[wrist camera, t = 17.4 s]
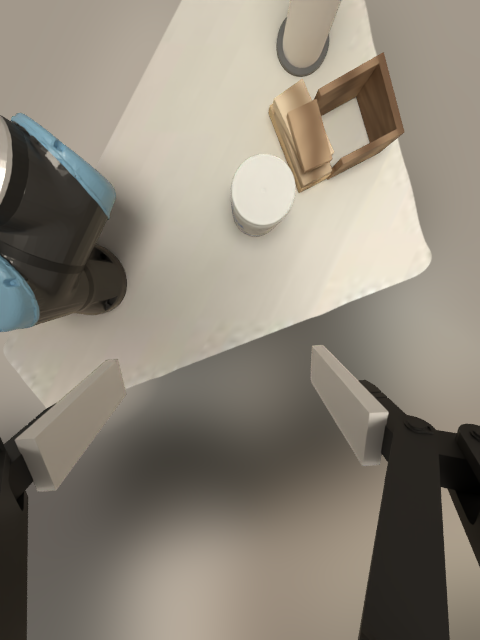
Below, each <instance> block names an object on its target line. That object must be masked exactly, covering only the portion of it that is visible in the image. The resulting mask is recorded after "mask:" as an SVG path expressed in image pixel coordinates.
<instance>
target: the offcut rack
mask: <svg viewBox="0 0 480 640" xmlns="http://www.w3.org/2000/svg"><path fill="white" fill-rule="evenodd" d="M355 97H357V101H358V104H359V107H360V111H361V114H362V118H363V121H364V124H365V128H366V131H367V134H368V138H369V141H370V143H369V144H367V145H365V146H363V147H362V148H360V149H358V150H356V151H354V152H352V153H350V154H348V155H346V156H344V157H343V158H341V159H340V160H339V161H338V162H337V163H336V164H335V165H334V166H333V167H332V168H331V165H330V161H331V160H332V155H333V153H334V151H333V148H332V146H331V144H330V141H329V139H328V137H327V134H326V132H325V129H324V125H323V122H322V118H321V116H322V115H324V114H326V113H328V112H329V111H331V110H333V109H335V108H337V107H338V106H340V105H342V104H344V103H346V102H347V101H349V100H351V99H353V98H355ZM269 115H270V118H271V121H272V123H273V126H274V129H275V131H276V134H277V137H278V139H279V142H280V144H281V147H282V150H283V152H284V155H285V158H286V160H287V163H288V166H289V168H290V169H291V171H292V173H293V176H294V179H295V184H296V187H297V189H298V192H299V193H300V192H302V191H304V190H306V189H308V188H310V187H312V186H313V185H315V184H317V183H319V182H321V181H323V180H325V179H327V180H328V179H330V178H332V177H334V176H336V175H338V174H339V173H341V172H343V171H345V170H347V169H349V168H351V167H353V166H355V165H357V164H359V163H361V162H363V161H364V160H366V159H368V158H370V157H372V156H374V155H376V154H378V153H379V152H381V151H382V150H383V149H384V148H386V147H387V146H388V145H389V144H391V143H392V142H393V141H394V140H396V139H397V138H398V137H399V136H400V135H402V134H403V133H404V129H403V125H402V121H401V118H400V113H399V109H398V106H397V102H396V98H395V94H394V90H393V87H392V83H391V79H390V75H389V71H388V67H387V64H386V60H385V56H384V53H381V54H380V55H378V56H376V57H374V58H373V59H371V60H369V61H367V62H366V63H364V64H362V65H360V66H359V67H357V68H355V69H353V70H351V71H350V72H348V73H346V74H344V75H343V76H341V77H339V78H337V79H336V80H334V81H332V82H330V83H329V84H327V85H325V86H323V87H322V88H320V89H318V92H317V94H316V96H315V98H314V100H313V101H312V100H311V97H310V95H309V93H308V90H307V88H306V86H305V83H304V81H303V79H301V80H300V81H298V82H297V83H296V84H294V85H293V86H291V87H290V88H289V89H287V90H286V91H284V92H283V93H281V94H280V95H279V96H277V97H276V98H274V101H273V104H272V105H270V108H269Z"/></svg>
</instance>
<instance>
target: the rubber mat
mask: <svg viewBox="0 0 480 640" xmlns="http://www.w3.org/2000/svg"><path fill="white" fill-rule="evenodd" d="M286 20H287V17H286V19H285V20H284V21H283V23H282V25H281V27H280V29H279V33H278V38H277V55H278V58H279V61H280V63H281V65H282V66H283V68H284V69H285V70H286V71H287V72H288V73H290V74H292V75H294V76H299V77H302V76H307V75H310V74H311V73H313V72H314V71H316V70H317V69H318V68H319V67H320V65H321V64H322V62H323V61H324V58H325V56H326V53H327V50H328V46H329V34H328V37H327V39H326V42H325V45H324V47H323V50H322V52H321V55H320V56H319V58H318V60H317V61H316V62H315V63H314V64H312V65H311V66H309V67H306V68H298V67H295V66H293V65H292V64H290V63H289V62H288V60H287V59H286V57H285V54H284V51H283V36H284V31H285V25H286Z"/></svg>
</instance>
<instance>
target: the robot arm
mask: <svg viewBox="0 0 480 640" xmlns="http://www.w3.org/2000/svg"><path fill="white" fill-rule="evenodd" d="M11 121H12V122H11ZM11 121H9V120H8V119H6V118H4V117H3V116H1V115H0V332H7V331H12V330H16V329H24V328H30V327H32V326H34V325H37V324H40V323H44V322H47V321H50V320H53V319H56V318H60V317H63V316H66V315H69V314H72V313H77V314H85V315H97V314H102V313H105V312H107V311H110V310H112V309H114V308H115V307H116V306H118V305H119V304H120V302H121V301H122V299H123V298H124V295H125V292H126V287H127V281H126V275H125V272H124V269H123V267H122V265H121V263H120V262H119V260H118V259H117V258H116V257H115V256H114V255H113V254H112V253H111V252H110V251H108V250H107V249H105V248H103V247H101V246H99V245H95V244H96V242H97V240H98V237H99V235H100V233H101V231H102V229H103V227H104V225H105V223H106V220H109V218H110V212H111V209H112V207H113V205H114V202H115V199H116V193H115V189H114V188H113V186H112V184H111V183H110V182H109V181H108V180H107V179H106V178H105V177H104V176H102V175H101V174H100V173H99V172H98V171H97V170H96V169H94V168H93V167H92V166H91V165H90V164H88V163H87V162H86V161H84V160H83V159H82V158H81V157H80V156H78V155H77V154H76V153H75V152H74V151H72V150H71V149H69V148H68V147H67V146H66V145H64V144H63V143H62V142H60V141H59V140H58V139H57V138H55V137H54V136H53V135H52V134H51V133H50V132H48V131H47V130H46V129H44V128H43V127H42V126H41V125H39V124H38V123H36V122H35V121H34V120H32V119H31V118H29V117H28V116H26V115H25V114H22V113H17V114H16V116H12V118H11ZM311 383H312V384H313V386H314V387H315V389H316V391H317V392H318V394H319V396H320V397H321V399H322V400H323V402H324V404H325V405H326V407H327V409H328V410H329V412H330V414H331V415H332V417H333V418H334V420H335V422H336V424H337V425H338V427H339V428H340V430H341V432H342V433H343V435H344V437H345V438H346V440H347V442H348V443H349V445H350V447H351V448H352V450H353V451H354V453H355V455H356V456H357V458H358V459H359V461H360V463H361V465H362V466H368V465H380V460H381V455H383V456H384V457H385V459H386V460H387V461H388V466H387V471H386V477H385V483H384V489H383V495H382V501H381V507H380V513H379V519H378V525H377V530H376V536H375V542H374V548H373V554H372V560H371V566H370V572H369V578H368V583H367V590H366V595H365V601H364V607H363V613H362V619H361V625H360V631H359V636H358V640H449V622H448V605H447V587H446V570H445V555H444V537H443V520H442V503H441V487H444V488H447V489H448V491H449V493H450V496H451V498H452V501H453V503H454V506H455V508H456V510H457V513H458V515H459V518H460V520H461V522H462V525H463V527H464V529H465V532H466V535H467V537H468V539H469V542H470V544H471V547H472V549H473V552H474V554H475V556H476V559H477V561H478V563H479V566H480V426H478V425H474V424H463V425H461V426H460V427H459V429H458V432H457V433H451V432H445V431H439V430H436V429H435V428H433V426H431V424H429V423H427V422H426V421H424V420H422V419H420V418H417V417H414V416H409V415H406V414H405V413H404V412H403V411H402V410H401V409H399V407H397V406H396V405H395V404H394V403H393V402H392V401H391V400H390V399H389V398H387V396H386V395H385V394H383V393H381V391H380V390H379V389H378V388H377V387H376V386H375V385H373V384H371V383H370V382H368V381H366V380H359V381H358V380H357V379H356V378H355V377H354V376H353V375H352V374H351V373H350V372H349V371H348V370H347V369H346V368H345V367H344V366H343V365H342V364H341V363H340V362H339V361H338V360H337V359H336V358H335V357H334V356H333V355H332V354H331V353H330V352H329V351H328V349H326V347H324V346H323V345H317V346H312V359H311ZM125 396H126V390H125V386H124V382H123V378H122V374H121V370H120V366H119V362H118V359H114V360H106V361H105V362H104V363H102V364H101V365H100V366H99V367H98V368H97V369H96V370H94V371H93V372H92V373H91V374H90V375H89V376H87V377H86V378H85V379H84V380H83V381H82V382H81V383H79V384H78V385H77V386H76V387H75V388H74V389H73V390H71V391H70V392H69V393H68V394H67V395H66V396H64V397H63V398H62V399H61V400H60V401H59V402H58V403H55V404H54V405H52V406H50V407H49V408H47V409H45V410H44V411H43V412H42V413H40V414H39V415H38V416H37V417H36V419H33V420H32V421H31V422H30V423H29V424H28V425H27V426H25V427H24V428H23V429H22V430H20V431H19V432H18V433H17V434H16V435H14V436H13V437H12V438H11V439H10V440H9V441H7V442H6V443H5V444H3V442H2V440H1V438H0V640H27V556H28V555H27V554H28V495H27V493H26V491H25V490H26V489H27V488H28V486H29V485H30V484H31V483H32V482H34V485H35V487H36V489H37V491H38V492H41V491H54V490H57V488H58V487H59V486H60V484H61V483H62V482H63V480H64V479H65V478H66V476H67V475H68V473H69V472H70V471H71V469H72V468H73V466H74V465H75V464H76V462H77V461H78V460H79V458H80V457H81V456H82V454H83V453H84V451H85V450H86V449H87V447H88V446H89V445H90V443H91V442H92V441H93V439H94V438H95V437H96V435H97V434H98V433H99V431H100V430H101V428H102V427H103V426H104V424H105V423H106V422H107V420H108V419H109V417H110V416H111V415H112V413H113V412H114V411H115V409H116V408H117V407H118V405H119V404H120V403H121V401H122V400H123V398H124V397H125Z"/></svg>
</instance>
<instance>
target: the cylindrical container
mask: <svg viewBox="0 0 480 640" xmlns="http://www.w3.org/2000/svg"><path fill="white" fill-rule="evenodd" d="M340 2H341V0H290V4H289V9H288V15H287V20H286V25H285V31H284V36H283V51H284V54H285V57H286V59H287V60H288V62H289V63H290V64H292V65H293V66H295V67H298V68H306V67H309V66H311V65H312V64H314V63H315V62H316V61H317V60H318V58H319V56H320V55H321V52H322V50H323V47H324V45H325V42H326V39H327V37H328V34H329V31H330V29H331V26H332V23H333V21H334V18H335V15H336V13H337V10H338V8H339V5H340Z"/></svg>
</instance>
